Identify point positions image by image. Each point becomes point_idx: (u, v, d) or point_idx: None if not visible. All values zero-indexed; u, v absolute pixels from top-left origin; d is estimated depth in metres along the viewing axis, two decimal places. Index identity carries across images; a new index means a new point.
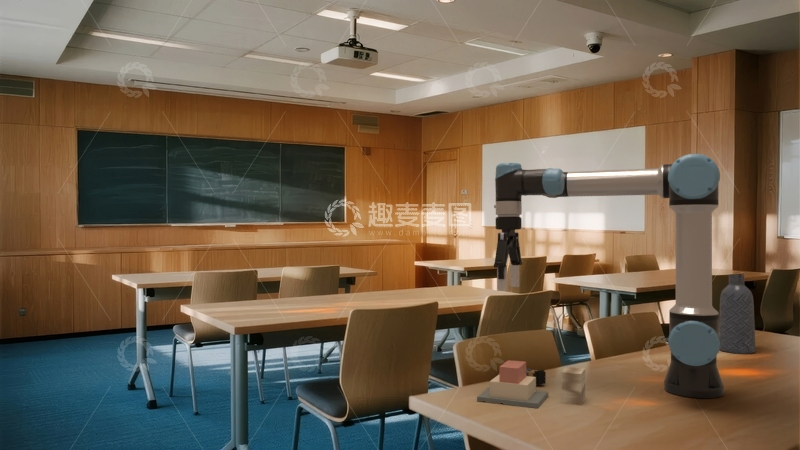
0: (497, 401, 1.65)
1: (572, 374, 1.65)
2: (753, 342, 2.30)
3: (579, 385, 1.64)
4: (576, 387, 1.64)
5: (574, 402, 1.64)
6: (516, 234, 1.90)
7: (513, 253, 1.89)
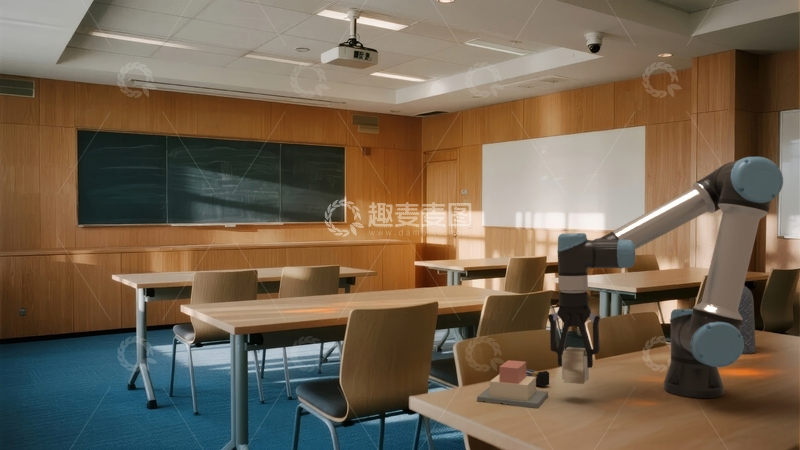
0: (497, 401, 1.65)
1: (573, 353, 1.65)
2: (753, 342, 2.30)
3: (581, 364, 1.64)
4: (578, 367, 1.64)
5: (576, 381, 1.64)
6: (595, 317, 1.65)
7: None
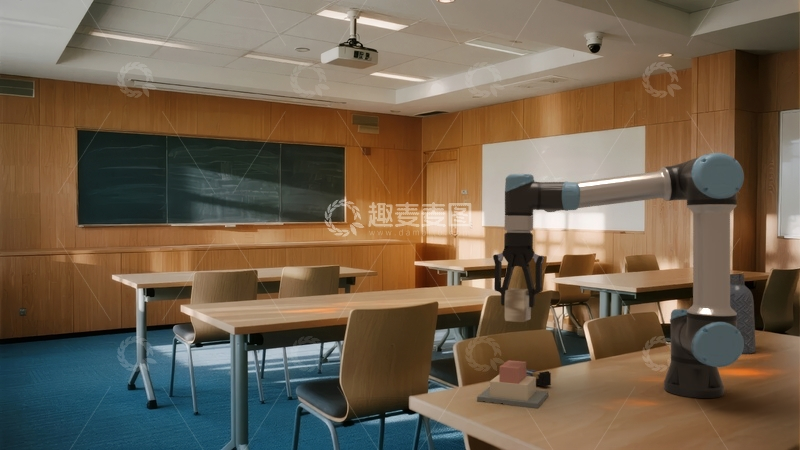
0: (497, 401, 1.65)
1: (515, 292, 1.66)
2: (753, 342, 2.30)
3: (522, 303, 1.66)
4: (519, 305, 1.66)
5: (517, 320, 1.66)
6: (538, 257, 1.67)
7: None
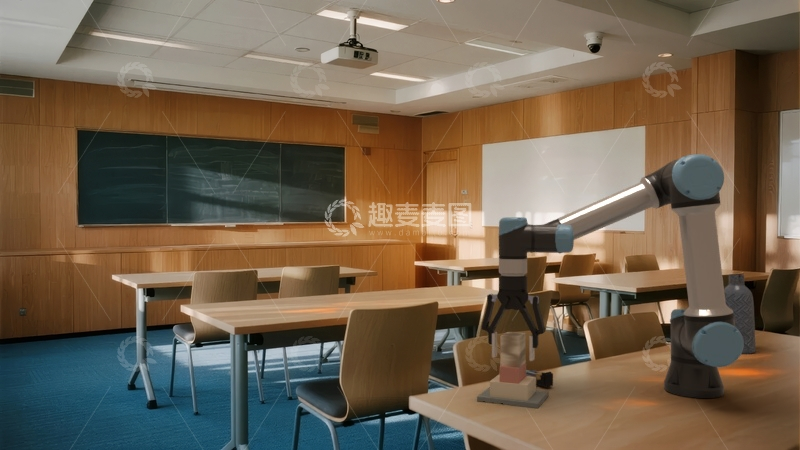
0: (497, 401, 1.65)
1: (510, 337, 1.66)
2: (753, 342, 2.30)
3: (517, 348, 1.66)
4: (514, 350, 1.66)
5: (512, 365, 1.66)
6: (533, 298, 1.67)
7: None
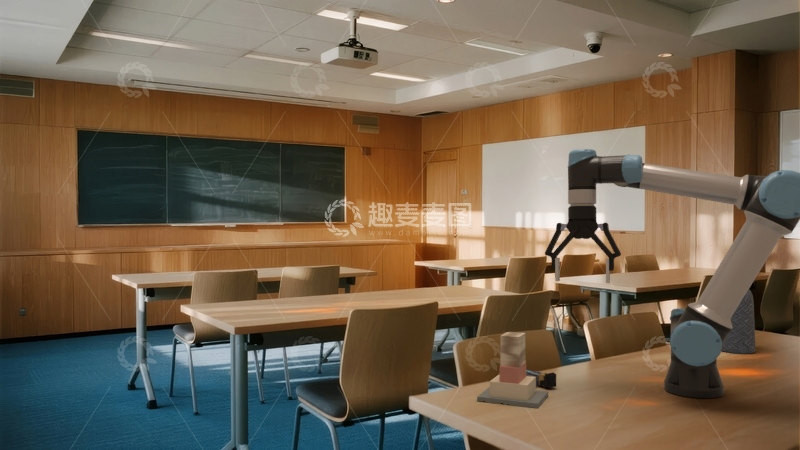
0: (497, 401, 1.65)
1: (510, 337, 1.66)
2: (753, 342, 2.30)
3: (517, 348, 1.66)
4: (514, 350, 1.66)
5: (512, 365, 1.66)
6: (603, 224, 1.73)
7: (598, 245, 1.74)
